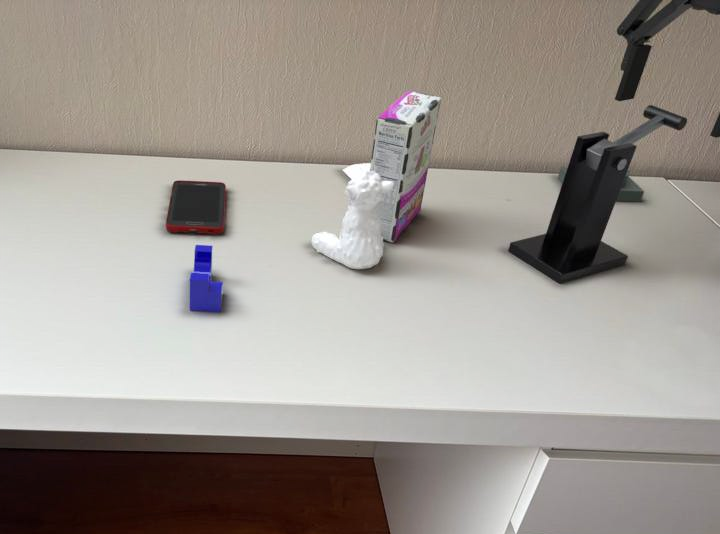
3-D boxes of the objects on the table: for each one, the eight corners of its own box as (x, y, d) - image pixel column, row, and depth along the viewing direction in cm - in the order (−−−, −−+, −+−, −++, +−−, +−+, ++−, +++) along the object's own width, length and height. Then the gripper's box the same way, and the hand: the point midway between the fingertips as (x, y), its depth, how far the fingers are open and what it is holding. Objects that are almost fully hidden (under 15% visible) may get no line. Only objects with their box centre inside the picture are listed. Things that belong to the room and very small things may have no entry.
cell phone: (165, 232, 98) (164, 225, 98) (173, 185, 110) (173, 179, 110) (223, 235, 99) (223, 228, 98) (225, 188, 110) (226, 182, 110)
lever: (651, 116, 94) (653, 99, 92) (685, 130, 91) (689, 112, 89) (576, 161, 92) (577, 145, 91) (608, 177, 89) (610, 160, 87)
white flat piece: (383, 212, 106) (384, 205, 106) (342, 171, 118) (343, 164, 117) (415, 209, 108) (416, 202, 107) (372, 168, 119) (372, 161, 118)
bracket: (571, 234, 104) (611, 122, 94) (625, 264, 98) (673, 147, 88) (507, 251, 99) (542, 134, 90) (559, 283, 93) (602, 162, 83)
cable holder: (220, 312, 84) (221, 281, 82) (189, 310, 84) (189, 279, 82) (224, 275, 91) (225, 246, 88) (195, 274, 91) (195, 244, 88)
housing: (618, 180, 120) (626, 159, 118) (640, 201, 114) (649, 180, 112) (557, 177, 120) (564, 156, 118) (575, 199, 113) (583, 177, 111)
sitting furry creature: (375, 238, 100) (390, 152, 93) (403, 270, 94) (422, 180, 86) (309, 245, 98) (319, 157, 91) (333, 278, 91) (346, 186, 84)
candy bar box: (387, 202, 109) (407, 89, 98) (420, 211, 107) (444, 96, 96) (358, 234, 101) (375, 114, 91) (392, 244, 99) (415, 123, 89)
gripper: (624, -98, 86) (569, 89, 99) (847, -65, 69) (745, 157, 81) (667, -100, 89) (608, 82, 102) (892, -68, 72) (787, 147, 84)
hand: (669, 116), depth 92 cm, fingers open, 13 cm apart
